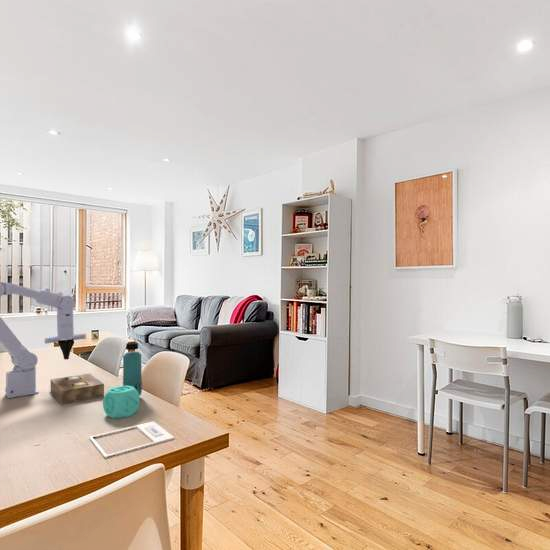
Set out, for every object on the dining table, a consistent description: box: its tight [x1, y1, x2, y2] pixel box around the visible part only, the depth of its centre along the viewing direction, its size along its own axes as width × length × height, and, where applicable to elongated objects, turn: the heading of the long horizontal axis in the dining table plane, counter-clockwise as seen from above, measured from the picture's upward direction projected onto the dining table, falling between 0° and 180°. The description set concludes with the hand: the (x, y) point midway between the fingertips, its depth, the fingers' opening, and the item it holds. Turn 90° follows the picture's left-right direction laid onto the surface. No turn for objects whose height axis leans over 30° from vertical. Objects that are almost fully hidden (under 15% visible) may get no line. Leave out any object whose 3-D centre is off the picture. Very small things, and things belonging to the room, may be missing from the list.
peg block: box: [50, 373, 105, 405], centre depth 147 cm, size 14×19×4 cm
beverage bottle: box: [122, 341, 143, 396], centre depth 141 cm, size 6×7×20 cm
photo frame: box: [88, 421, 176, 459], centre depth 107 cm, size 15×1×18 cm
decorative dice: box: [102, 385, 141, 419], centre depth 126 cm, size 8×8×8 cm
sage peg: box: [68, 377, 79, 381], centre depth 151 cm, size 4×4×4 cm
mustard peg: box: [74, 382, 86, 387], centre depth 143 cm, size 4×4×4 cm
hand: (66, 359), depth 158 cm, fingers closed
